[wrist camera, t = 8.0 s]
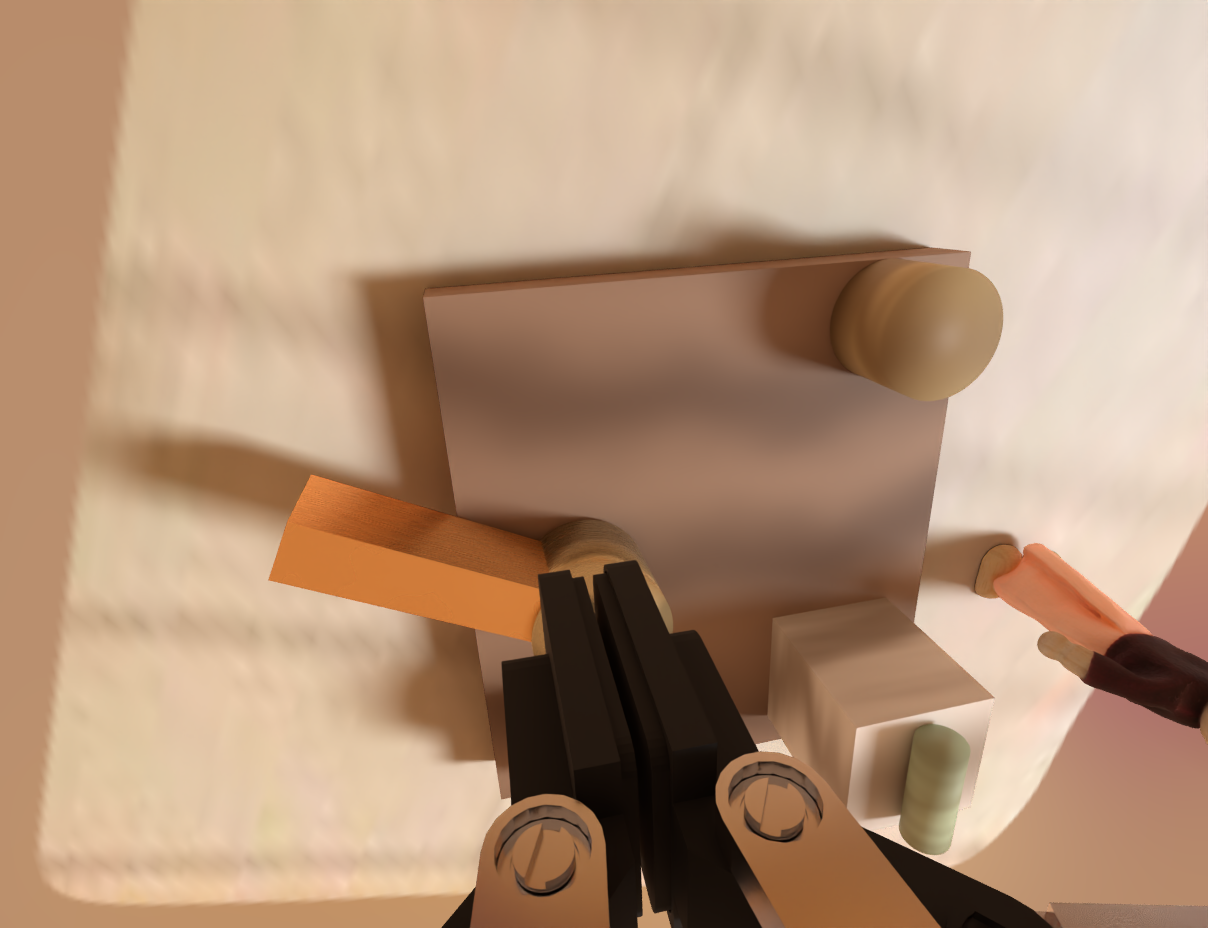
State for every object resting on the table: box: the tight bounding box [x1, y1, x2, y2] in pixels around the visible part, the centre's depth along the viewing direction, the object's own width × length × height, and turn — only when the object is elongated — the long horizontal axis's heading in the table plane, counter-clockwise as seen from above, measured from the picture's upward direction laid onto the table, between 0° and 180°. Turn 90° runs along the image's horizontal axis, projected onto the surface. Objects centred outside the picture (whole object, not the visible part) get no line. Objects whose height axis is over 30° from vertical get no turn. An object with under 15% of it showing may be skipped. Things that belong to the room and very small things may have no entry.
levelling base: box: [423, 248, 1003, 855], centre depth 22 cm, size 20×18×10 cm
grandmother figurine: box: [975, 543, 1208, 744], centre depth 25 cm, size 8×4×13 cm, turn 86°
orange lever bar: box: [269, 475, 673, 656], centre depth 21 cm, size 12×4×4 cm, turn 66°
